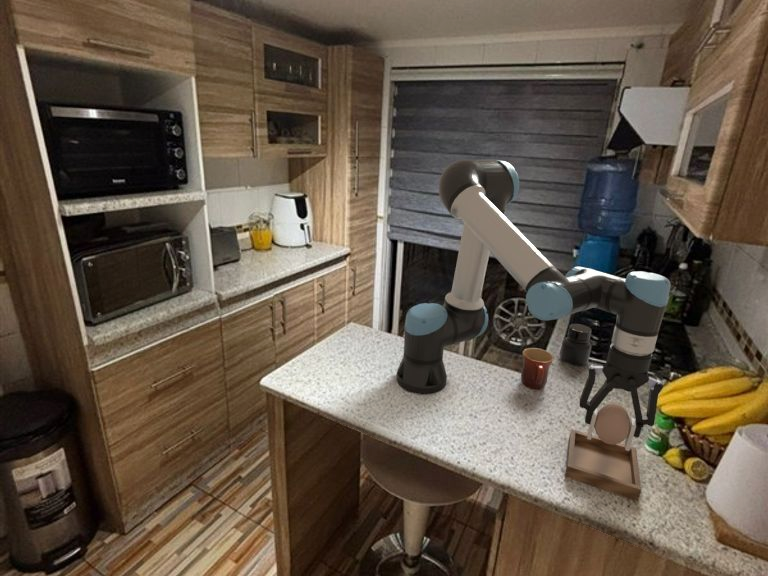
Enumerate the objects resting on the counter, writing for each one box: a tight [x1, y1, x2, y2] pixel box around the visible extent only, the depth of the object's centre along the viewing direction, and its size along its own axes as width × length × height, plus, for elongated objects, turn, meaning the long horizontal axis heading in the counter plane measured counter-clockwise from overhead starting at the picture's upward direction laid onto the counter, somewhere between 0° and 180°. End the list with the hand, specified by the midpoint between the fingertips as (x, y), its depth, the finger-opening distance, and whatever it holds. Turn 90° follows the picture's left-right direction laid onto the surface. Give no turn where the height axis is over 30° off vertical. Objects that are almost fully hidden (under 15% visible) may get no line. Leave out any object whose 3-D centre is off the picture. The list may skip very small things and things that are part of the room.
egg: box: [594, 402, 631, 445], centre depth 91 cm, size 7×7×10 cm
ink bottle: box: [559, 323, 592, 367], centre depth 140 cm, size 10×9×12 cm
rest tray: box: [564, 428, 642, 502], centre depth 94 cm, size 14×14×3 cm
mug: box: [520, 347, 555, 391], centre depth 123 cm, size 12×9×10 cm
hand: (607, 441), depth 92 cm, fingers closed on egg, 7 cm apart
